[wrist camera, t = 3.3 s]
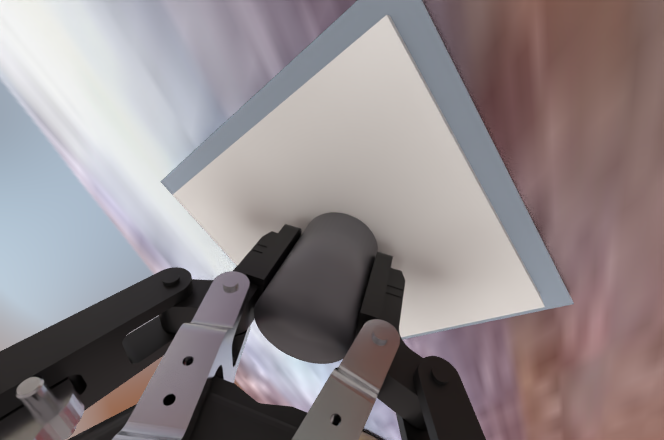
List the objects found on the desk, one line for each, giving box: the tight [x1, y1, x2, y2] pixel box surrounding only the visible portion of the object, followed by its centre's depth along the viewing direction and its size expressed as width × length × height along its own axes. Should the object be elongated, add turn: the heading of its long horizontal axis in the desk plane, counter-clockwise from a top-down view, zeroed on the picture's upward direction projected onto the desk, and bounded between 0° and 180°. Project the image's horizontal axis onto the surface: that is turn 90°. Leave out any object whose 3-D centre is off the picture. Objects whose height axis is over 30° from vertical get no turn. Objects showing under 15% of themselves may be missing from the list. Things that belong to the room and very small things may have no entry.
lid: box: [173, 15, 545, 364], centre depth 13 cm, size 13×13×6 cm
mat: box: [161, 0, 574, 339], centre depth 15 cm, size 15×15×1 cm
